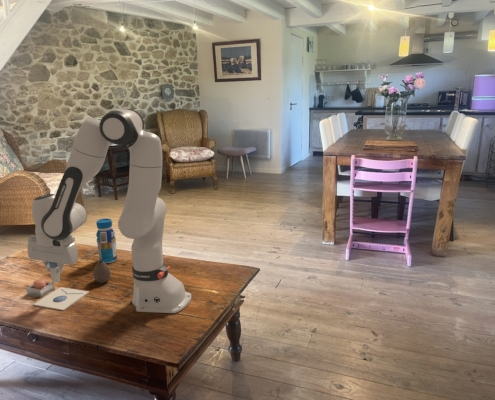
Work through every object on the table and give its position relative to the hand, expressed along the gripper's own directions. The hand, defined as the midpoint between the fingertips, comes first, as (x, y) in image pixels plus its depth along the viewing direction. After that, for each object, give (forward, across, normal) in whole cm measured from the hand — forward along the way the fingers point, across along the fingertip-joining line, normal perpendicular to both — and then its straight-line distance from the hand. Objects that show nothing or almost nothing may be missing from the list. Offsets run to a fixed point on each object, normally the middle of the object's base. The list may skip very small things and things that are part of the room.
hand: (54, 271), depth 147 cm
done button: (+11, -12, +3) cm, 16 cm away
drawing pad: (+12, 0, +1) cm, 12 cm away
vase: (+12, +6, +18) cm, 23 cm away
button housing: (+12, -12, +3) cm, 17 cm away
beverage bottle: (+12, -5, +37) cm, 39 cm away
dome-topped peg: (+4, 0, 0) cm, 4 cm away
